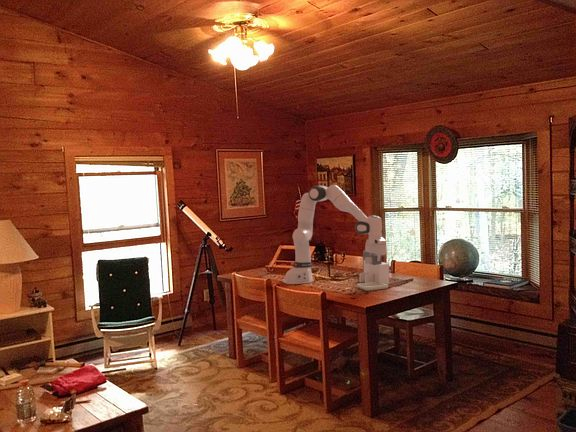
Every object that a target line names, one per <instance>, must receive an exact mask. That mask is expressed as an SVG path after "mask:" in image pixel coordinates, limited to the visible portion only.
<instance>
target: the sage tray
mask: <svg viewBox="0 0 576 432" xmlns="http://www.w3.org/2000/svg"><path fill="white" fill-rule="evenodd" d="M356 288H357V289H360V290H362V289H363V291H364V292H370V291H378V290H386V289H389V284H384V283H381V282H370V283H365V282H361V283H356Z"/></svg>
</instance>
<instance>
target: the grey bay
mask: <svg viewBox="0 0 576 432" xmlns="http://www.w3.org/2000/svg"><path fill="white" fill-rule="evenodd" d="M358 277H359V284H361V283H370V282H381V283H384V284H388V285H389V284H390V263H388V262H385V261H384V262H383V261H382V264H379V265H372V264H370V263H369V264H365V261H364V273H363V272H360V273H359V276H358Z"/></svg>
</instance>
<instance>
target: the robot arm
mask: <svg viewBox="0 0 576 432" xmlns="http://www.w3.org/2000/svg"><path fill="white" fill-rule="evenodd" d="M327 200H329V201H330V202H331V203H332V204H333V206H334V207H335V208H336V209H338V210H339V211H341V212H344V213H345V212H346V213H349V214H351V215H352V216H353V217H354V218H355V220H357V222H356V223H355V224H354V230H355V232H356V233H357V234H358V235H367V234H368V238H367V239H366V241H365V248H364V249H365V250H364V251H366V252H369V253H370V255H373V254H377V256H378V257H377V258H376V260H377V261H380V257H381V255H382V256H385V255H386V254H387V239H385V238H384V237H383V233H382V230H383V222H382V221H383V220H382V218H381V217H380V216H378V215H375V214H374V215H369V216H367V215H366V214H365V213H364V212H363V211H362V210H361V209H360V208H359V207H358V206H357V204H355V203H354V202H353V200H351V198H350V197H349V196H348V195H347V194H346V192H345V191H343V189H342V188H340V187H339V186H338V185H336V184H331V185H329V186H327V185H322V184H321V185H313V186H312V187H310V189H308V192H305V193H304V194H303V195H302V197H301V200H300V201H299V202H300V203H299V208H298V212H297V213H298V214H297V221H298V224H297V228H296V229H294V231H293V233H292V240H293V246H294V253H295V258H294V259H295V261H294V262H293V261H291V262H290V265H291V266H292V267H291V268H290V269H289V270H288V271H287V272H286V273H285V275H284V276H285V277H284V279H282V281H281V282H282V283H284V284H286V285H298V284H299V285H301V284H311V282H313V281H314V278H313V275H312V260H311V259H312V258H311V257H312V255H311V254H312V252H311V248H310V242H309V241H310V240H311V238H312V237H313V233H314V232H313V230H314V225H313V224H314V217H315V209H316V204H317V203H318V202H325V201H327Z"/></svg>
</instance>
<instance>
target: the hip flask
mask: <svg viewBox="0 0 576 432" xmlns="http://www.w3.org/2000/svg"><path fill="white" fill-rule="evenodd" d="M373 255H376V254H373ZM365 257H370V253H369V252H366V251H365V250H362V273H364V261H365Z"/></svg>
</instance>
